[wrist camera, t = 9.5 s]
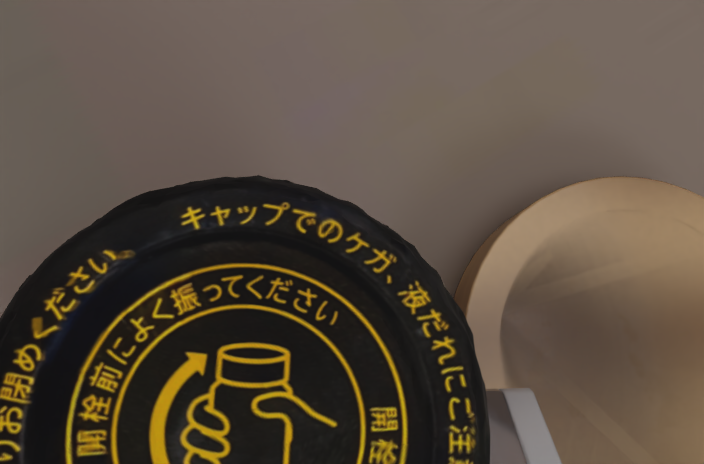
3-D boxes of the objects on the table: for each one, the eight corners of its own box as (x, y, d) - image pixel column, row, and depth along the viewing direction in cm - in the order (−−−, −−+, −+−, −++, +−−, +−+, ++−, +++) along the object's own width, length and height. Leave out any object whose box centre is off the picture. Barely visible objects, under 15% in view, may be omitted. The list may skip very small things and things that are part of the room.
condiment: (448, 418, 18) (721, 526, 6) (182, 616, 17) (-100, 1229, 5) (300, 203, 19) (302, -51, 7) (35, 374, 18) (-504, 404, 6)
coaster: (783, 516, 22) (837, 533, 19) (455, 532, 21) (474, 552, 19) (738, 191, 24) (782, 175, 22) (438, 193, 23) (453, 175, 21)
